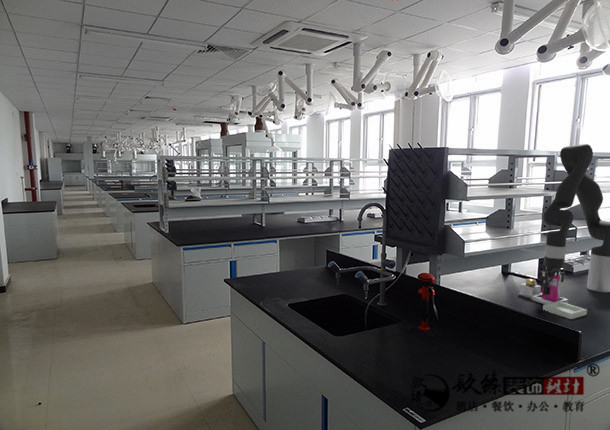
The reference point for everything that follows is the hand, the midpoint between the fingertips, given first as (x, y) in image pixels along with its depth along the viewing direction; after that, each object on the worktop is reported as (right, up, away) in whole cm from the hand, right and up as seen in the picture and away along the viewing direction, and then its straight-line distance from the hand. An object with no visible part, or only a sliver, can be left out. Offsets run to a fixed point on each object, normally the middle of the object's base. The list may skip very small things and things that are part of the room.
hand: (551, 293), depth 173 cm
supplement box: (0, -4, 0) cm, 4 cm away
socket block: (-2, -4, +3) cm, 5 cm away
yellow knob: (-5, -2, +8) cm, 10 cm away
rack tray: (-2, -5, -12) cm, 13 cm away
